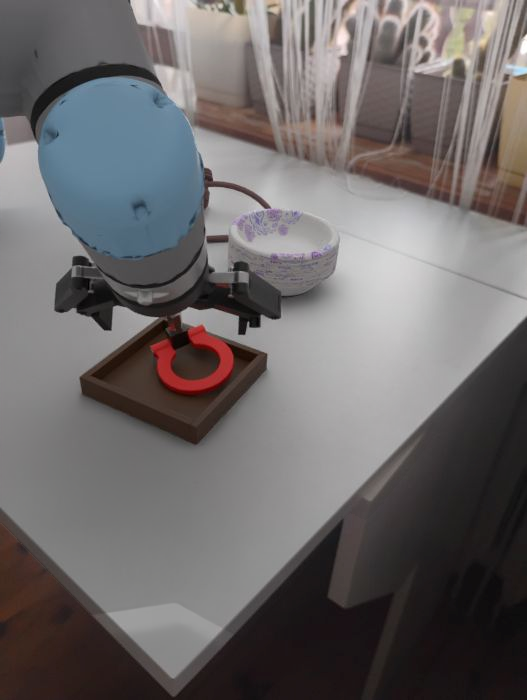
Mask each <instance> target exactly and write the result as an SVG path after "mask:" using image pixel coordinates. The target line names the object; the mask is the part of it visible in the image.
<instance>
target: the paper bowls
mask: <svg viewBox="0 0 527 700" xmlns="http://www.w3.org/2000/svg"><path fill="white" fill-rule="evenodd" d="M271 208H272V207H271ZM227 235H228V236H229V240H228V241H227V242H228V244H227V245H228V246H227V247H228V248H227V249H228V250H227V253H228V254H227V261H228V264H229V267H233V264H234V263H235V262H239V261H243V262H246V263H248V264H249V267H250V271H252V272H253V273H255V274H256V275H258V276H259V277H261V278H262V279H263V280H265V281H266V282H268V283H269V284H271V285H272V286H274V287H275V288H277V289H278V290H279V291H281V297H292V296H298V295H301V294H304V293H307V292H308V291H310V290H312V289H313V288H314V287H315V286H316V285H317V284H320V283H322V282H324V281H327V280H328V279H329V278H330V277H331V276H332V275H333V274H334V273H335V271H336V267H337V263H338V262H337V261H338V256H339V250H340V243H341V238H340V233H339V231H338V230H337V228H336V227H335V226H334V225H333V224H332V223H331V222H330V221H328V220H327V219H325V218H323V217H321V216H318V215H316V214H314V213H310V212H307V211H303V210H298V209H291V208H276V207H275V208H272V209H264V208H262V209H255V210H252V211H247V212H244V213H243V214H241V215H239V216H237V217H235V219H234V220H233V221H232V222H231V224H230V225H229V227H228V234H227Z"/></svg>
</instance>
